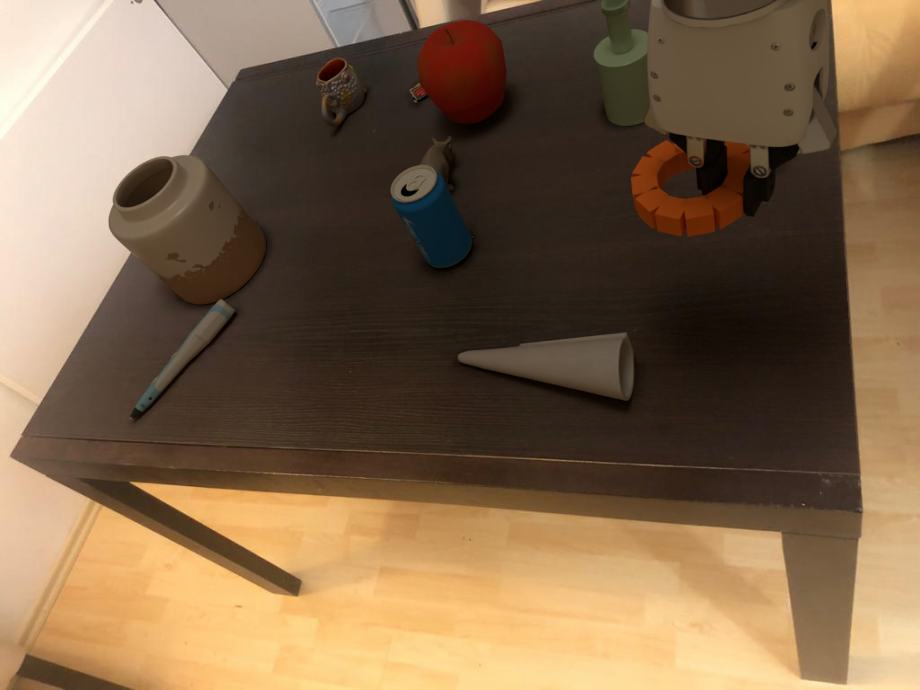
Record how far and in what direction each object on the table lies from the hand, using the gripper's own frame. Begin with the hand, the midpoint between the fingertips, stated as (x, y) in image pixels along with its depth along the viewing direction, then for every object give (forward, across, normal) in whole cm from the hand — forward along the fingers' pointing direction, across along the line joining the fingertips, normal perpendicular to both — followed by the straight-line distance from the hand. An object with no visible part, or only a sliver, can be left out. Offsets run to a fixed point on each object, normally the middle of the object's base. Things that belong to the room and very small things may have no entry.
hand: (735, 197), depth 51 cm
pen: (+19, +63, +28) cm, 71 cm away
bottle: (+19, +25, -29) cm, 43 cm away
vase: (+19, +71, +13) cm, 75 cm away
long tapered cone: (+19, +16, +12) cm, 28 cm away
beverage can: (+19, +36, 0) cm, 41 cm away
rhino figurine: (+19, +44, -9) cm, 49 cm away
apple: (+19, +47, -24) cm, 56 cm away
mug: (+19, +72, -20) cm, 77 cm away
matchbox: (+19, +60, -27) cm, 69 cm away
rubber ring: (0, +3, 0) cm, 3 cm away
